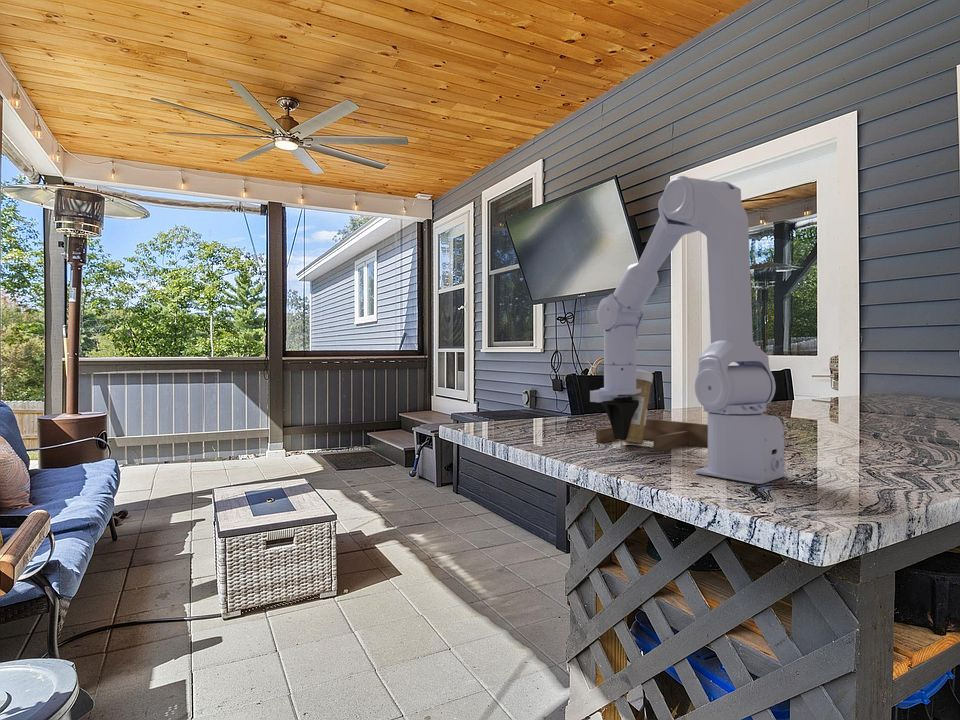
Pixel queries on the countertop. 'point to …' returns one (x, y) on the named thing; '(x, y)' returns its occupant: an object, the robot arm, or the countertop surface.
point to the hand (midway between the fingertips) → (620, 439)
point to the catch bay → (665, 434)
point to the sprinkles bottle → (640, 408)
